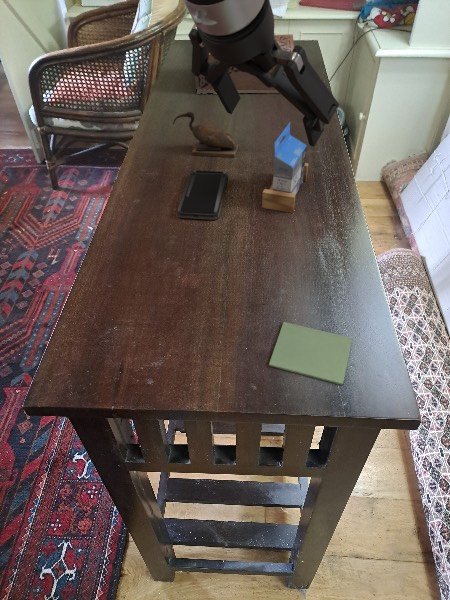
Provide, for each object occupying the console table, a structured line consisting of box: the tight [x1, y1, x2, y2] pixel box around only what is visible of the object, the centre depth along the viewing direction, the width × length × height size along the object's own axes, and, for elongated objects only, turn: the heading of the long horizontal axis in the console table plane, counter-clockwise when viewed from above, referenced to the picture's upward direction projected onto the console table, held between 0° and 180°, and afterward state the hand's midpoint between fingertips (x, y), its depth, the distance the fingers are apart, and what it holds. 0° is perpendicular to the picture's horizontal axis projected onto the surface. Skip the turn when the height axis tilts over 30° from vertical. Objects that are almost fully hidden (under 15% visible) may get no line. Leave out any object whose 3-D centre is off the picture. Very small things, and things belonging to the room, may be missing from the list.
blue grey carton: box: [272, 121, 308, 195], centre depth 86 cm, size 9×4×12 cm, turn 157°
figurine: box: [172, 111, 239, 158], centre depth 100 cm, size 14×4×9 cm, turn 80°
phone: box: [177, 169, 229, 221], centre depth 90 cm, size 8×1×15 cm
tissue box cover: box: [194, 33, 295, 90], centre depth 124 cm, size 26×14×10 cm, turn 87°
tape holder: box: [261, 162, 309, 214], centre depth 89 cm, size 6×12×4 cm, turn 161°
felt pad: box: [268, 321, 353, 386], centre depth 64 cm, size 10×8×1 cm
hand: (273, 120), depth 64 cm, fingers open, 13 cm apart
